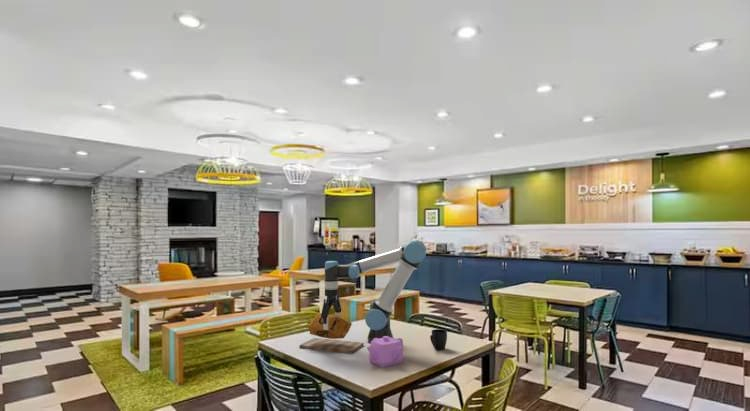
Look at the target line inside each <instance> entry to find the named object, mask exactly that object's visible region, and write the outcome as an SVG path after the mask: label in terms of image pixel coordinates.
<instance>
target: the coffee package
mask: <svg viewBox="0 0 750 411" xmlns="http://www.w3.org/2000/svg"><path fill="white" fill-rule="evenodd" d="M321 313H322V312H319V311H318V312H317V314H316V315H315V317H314V318H313V319H312V320H311V322H310V323H309V325H308V330H309V335H312V336H317V337H318V338H322V339H331V340H340V339H344V338H346V336H347V334H348V333H349V331H350V329H351V326H352V325H353V323H352V322H350V321H347V320H345V319H343V318H342V317H340V316H339V317H337V316H335V315H332V314H328V330H323V318H322V317H321Z"/></svg>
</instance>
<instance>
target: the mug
mask: <svg viewBox="0 0 750 411" xmlns="http://www.w3.org/2000/svg"><path fill="white" fill-rule="evenodd" d="M429 339H430V342H431V345H432V347H433V348H434V350H436V351H444V350H445V349H446V346H447V340H448V332H447V330H446V329H440V328H437V329H432V330H431V334H430V336H429Z"/></svg>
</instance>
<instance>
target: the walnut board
mask: <svg viewBox="0 0 750 411" xmlns="http://www.w3.org/2000/svg"><path fill="white" fill-rule="evenodd" d="M364 344H365V343H364V342H362V341H361V342H360V341H352V340H351V341H349V340H348V341H347V340H340V339H329V338H322V337H313V338H311V339H309V340H307V341H305V342H303V343H301V344H299V348H300V349H306V350H307V349H308V350H316V351H324V352H325V351H327V352H332V353H333V352H335V353H343V354H350V355H351V354H353V353H355V352H356V351H358V350H359V349H361V348H362V347H364Z"/></svg>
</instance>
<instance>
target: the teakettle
mask: <svg viewBox="0 0 750 411" xmlns="http://www.w3.org/2000/svg"><path fill="white" fill-rule="evenodd" d="M403 342H404V339H403V338H400V337H398V338H394V337H393V338H391V337H389V336H383V338H380V339H378V338H374V339H373V340H372V341H371V343H370V345H369V346H368V347H366V348H367V351H368V353H369V354H368V358H369V362H370V363H371V364H373V365H375V366H378V367H381V368H387V367H391V366H395V365H398V364H401V363H403V360H404V343H403Z"/></svg>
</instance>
